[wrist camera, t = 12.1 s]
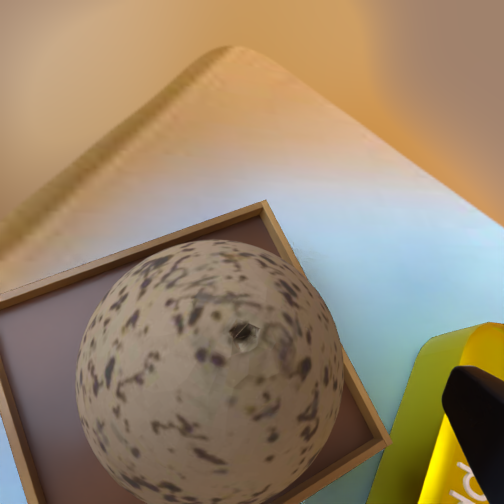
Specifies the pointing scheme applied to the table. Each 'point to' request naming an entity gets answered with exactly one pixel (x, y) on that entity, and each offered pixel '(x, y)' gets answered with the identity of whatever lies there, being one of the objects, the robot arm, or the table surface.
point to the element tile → (435, 424)
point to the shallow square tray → (65, 360)
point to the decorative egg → (209, 375)
